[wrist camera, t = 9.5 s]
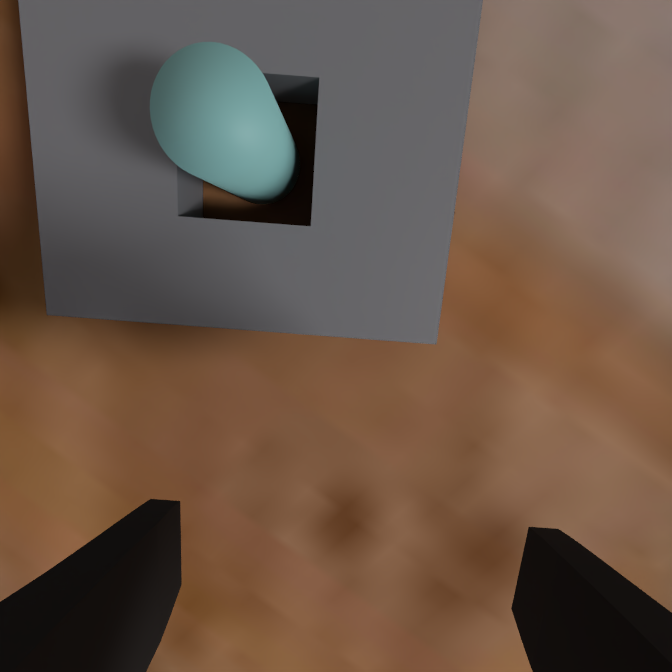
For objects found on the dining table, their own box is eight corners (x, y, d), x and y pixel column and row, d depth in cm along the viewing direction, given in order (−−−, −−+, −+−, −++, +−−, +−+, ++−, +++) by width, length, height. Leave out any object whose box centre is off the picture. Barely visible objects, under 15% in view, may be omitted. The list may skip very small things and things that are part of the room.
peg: (223, 202, 16) (152, 176, 10) (222, 118, 15) (146, 38, 9) (298, 206, 16) (273, 183, 10) (301, 123, 15) (276, 45, 9)
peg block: (90, 304, 17) (47, 315, 14) (67, -33, 14) (9, -92, 12) (422, 329, 17) (436, 344, 14) (464, -2, 14) (490, -54, 12)
